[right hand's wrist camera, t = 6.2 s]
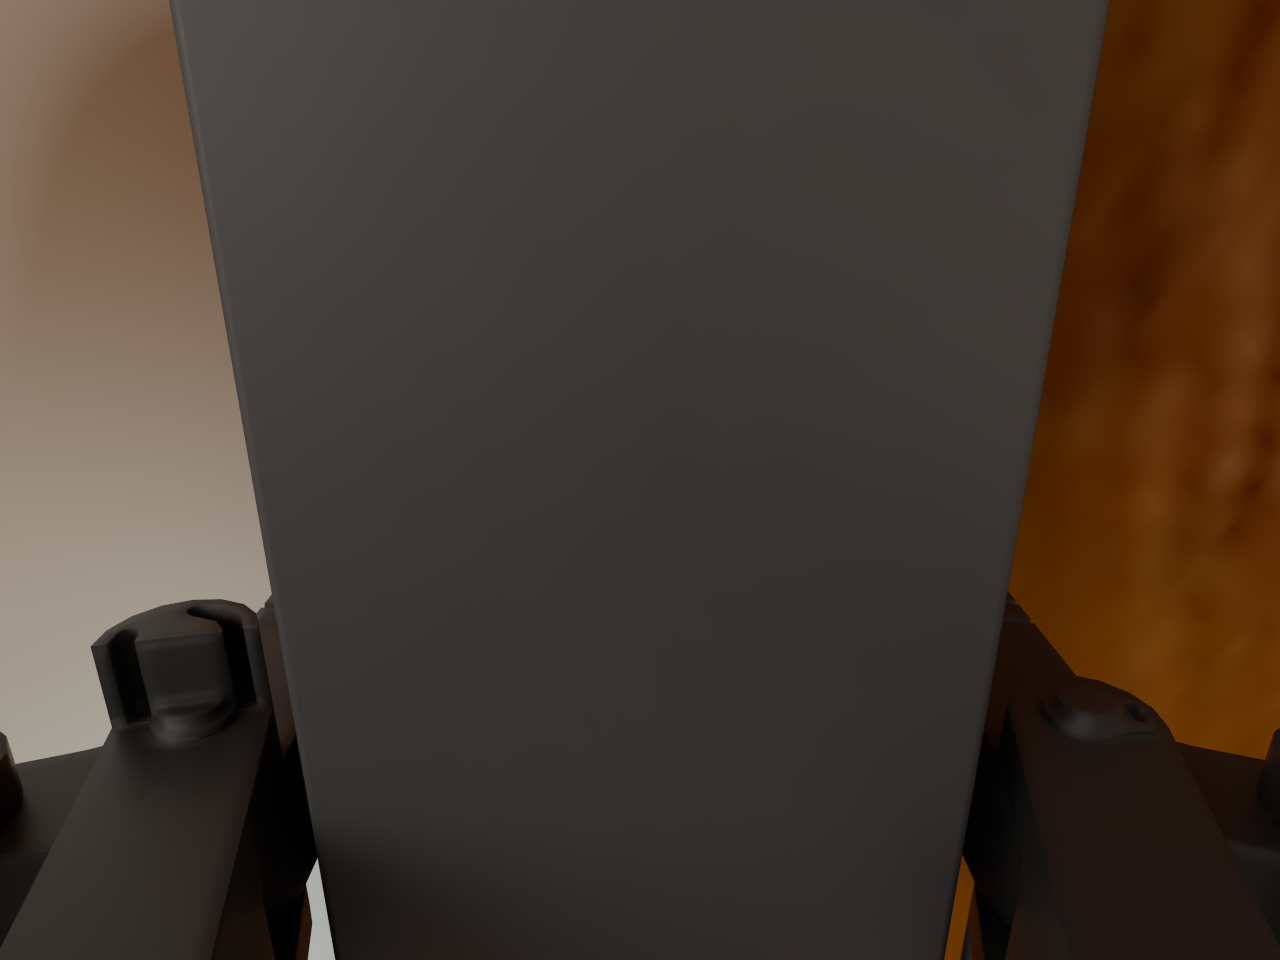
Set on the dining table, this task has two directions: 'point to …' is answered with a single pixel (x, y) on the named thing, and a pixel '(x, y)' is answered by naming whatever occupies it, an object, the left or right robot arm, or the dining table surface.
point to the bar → (639, 445)
